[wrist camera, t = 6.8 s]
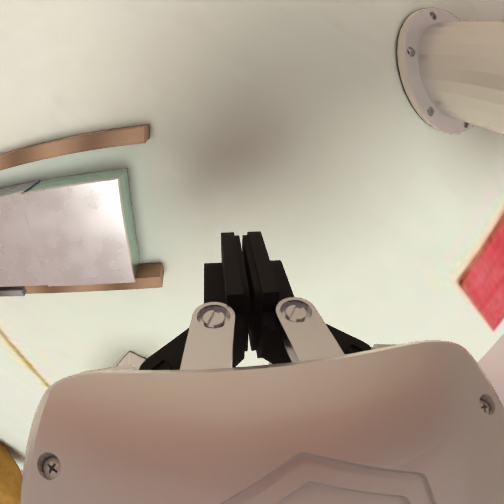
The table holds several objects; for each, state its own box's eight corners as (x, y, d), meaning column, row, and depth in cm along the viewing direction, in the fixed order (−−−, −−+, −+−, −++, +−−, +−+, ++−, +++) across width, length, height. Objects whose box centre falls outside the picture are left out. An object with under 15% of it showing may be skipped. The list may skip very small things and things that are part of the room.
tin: (128, 166, 19) (117, 179, 16) (141, 257, 23) (134, 282, 20) (41, 179, 18) (21, 194, 15) (62, 262, 21) (48, 286, 19)
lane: (148, 124, 18) (132, 135, 13) (163, 272, 24) (159, 318, 19) (-46, 171, 14) (-83, 194, 9) (-12, 282, 20) (-36, 317, 15)
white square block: (41, 178, 18) (20, 193, 15) (61, 261, 21) (47, 285, 18) (-20, 192, 16) (-42, 207, 13) (2, 266, 20) (-14, 287, 17)
